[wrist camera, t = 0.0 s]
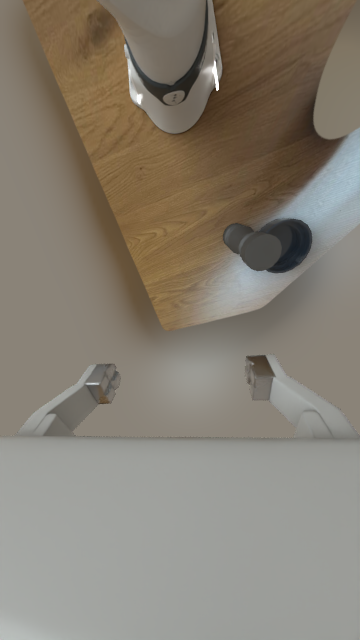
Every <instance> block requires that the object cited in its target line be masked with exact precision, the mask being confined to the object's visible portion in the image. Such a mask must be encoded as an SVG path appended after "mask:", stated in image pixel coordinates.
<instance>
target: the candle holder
mask: <svg viewBox="0 0 360 640" xmlns="http://www.w3.org/2000/svg"><path fill="white" fill-rule="evenodd" d="M223 240H224V243H225V244H226V245H227V246H228V247H229V248H230V249H231V250H232V251H233V252H234V253H237V254H240V256H241V257H242V260H243V261H244V262H245V263H246V264H247V265H248V266H249V267H250V268H251V269H253V270H256V271H263V270H266V269H268V268H270V267H272V266H273V265H274V264H275V263H276V262H277V261H278V259H279V257H280V255H281V250H282V246H281V243H280V240H279V239H278V238H277V237H276V236H273V235H270V234H267V233H264V232H259V233H258V232H254V231H253V230H252V229H251V228H250V227H248V226H244V225H241V224H238V223H235V224H231V225H229V226H228V227H227V228H226V229H225V231H224V234H223Z"/></svg>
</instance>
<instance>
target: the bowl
mask: <svg viewBox="0 0 360 640" xmlns="http://www.w3.org/2000/svg"><path fill="white" fill-rule="evenodd" d="M259 232H264V233H267V234H270V235H273V236H276V237H277V238H278V239H279V240H280V243H281V246H282V250H281V255H280V257H279V259H278V261H277V262H276V263H275V264H274V265H273V266H272V267H270V268H268V269H266V270H267V271H268V272H272V273H284V272H287V271H289V270H292V269H293V268H295V267H296V266H298V265H299V264H300V263H301V262H302V261H303V260H304V259H305V258H306V256H307V254H308V252H309V251H310V248H311V244H312V233H311V230H310V228H309V227H308V225H307V224H306V223H304V222H303V221H301V220H297V219H290V218H282V219H276V220H274V221H271V222H269V223H268V224H266V225H265V226H264V227H263V228H262V229H261V230H260V231H259ZM259 232H258V233H259Z"/></svg>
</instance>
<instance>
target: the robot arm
mask: <svg viewBox="0 0 360 640" xmlns="http://www.w3.org/2000/svg"><path fill="white" fill-rule="evenodd" d="M97 1H98V2H99V3H100V4H101V5H102V6H104V7H105V8H106V9H107V10H108V11H109V12H110V13H111V14H112V15H113V16H114V17H115V19H116V20H117V22H118V24H119V26H120V28H121V30H122V32H123V34H124V37H125V41H126V44H125V45H124V48H125V55H126V58H127V59H128V72H129V86H130V96H131V99H132V101H133V102H134V104H136V105H137V106H138V107H140V108H141V109H143V110H145V112H146V113H147V114H148V116H149V117H150V119H151V120H152V121H153V123H154V124H155V125H156V126H157V127H159V128H160V129H161V130H163V131H165V132H168V133H173V134H177V133H182V132H184V131H186V130H188V129H190V128H191V127H192V126H193V125H194V124H195V123H196V122H197V121H198V119H199V118H200V116H201V115H202V113H203V111H204V109H205V106H206V104H207V101H208V98H209V96H210V93H211V92H212V90H213V89H214V88H215V86H216V89H217V90H218V89H219V86H218V82H219V81H220V79H221V76H222V62H221V55H220V48H219V42H218V35H217V28H216V22H215V15H214V8H213V2H212V0H97ZM215 61H216V62H217V64H215ZM245 361H246V364H247V365H246V366H245V376H246V380H247V383H248V384H249V385H250V388H249V390H250V393H251V396H252V400H269V402H270V403H271V404H272V405H273V406H274V407H275V408H276V409H277V410H278V411H279V412H280V413H282V414H283V416H284V417H285V418H286V419H287V420H288V421H289V422H291V424H292V425H293V426H294V427H296V431H295V434H294V437H293V438H232V437H231V438H229V437H227V438H226V437H224V438H223V437H91V436H87V437H85V436H75V435H74V434H73V432H72V431H73V430H74V429H75V428H76V427H77V426H78V425H79V424H80V423H81V422H82V421H83V420H84V419H85V418H86V417H87V416H88V415H89V414H90V413H91V412H92V411H93V410H94V409H95V408H96V407H97V405H98V404H106V403H107V404H108V403H112V400H113V398H114V396H115V390H116V389H117V388H118V387H119V385H120V374H119V373H118V372H117V371H116V366H115V364H92V365H90V366H89V367H88V368H87V370H86V371H85V373H84V374H83V375H82V377H81V378H80V380H79V381H78V383H77V384H76V385H73V386H72V387H70V388H69V389H67V390H66V391H64V392H63V393H62V394H60V395H59V396H57V397H56V398H54V399H53V400H51V401H50V402H48V403H47V404H46V405H44V406H43V407H41V408H40V409H38V410H37V411H36V412H34V413H33V414H32V415H31V416H30V418H29V419H28V420H27V421H26V423H25V424H24V425H23V426H22V428H21V429H20V430H19V431H18V432H17V434H16V435H15V436H0V640H360V435H359V434H358V433H357V431H356V430H355V429H354V427H353V426H352V425H351V423H350V422H349V421H348V419H347V418H346V416H345V415H344V414H343V412H342V411H341V409H339V408H338V407H336V406H335V405H333V404H332V403H330V402H328V401H327V400H325V399H324V398H322V397H321V396H319V395H318V394H316V393H315V392H313V391H311V390H310V389H308V388H307V387H305V386H304V385H302V384H301V383H299V382H297V381H296V380H295V379H293V378H292V377H287V375H286V374H285V372H284V370H283V368H282V366H281V365H280V363H279V361H278V359H277V357H276V356H275V355H274V354H270V355H257V356H246V360H245Z"/></svg>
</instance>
